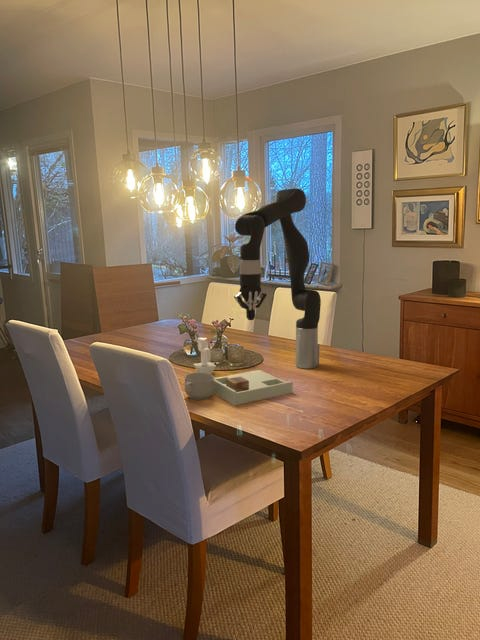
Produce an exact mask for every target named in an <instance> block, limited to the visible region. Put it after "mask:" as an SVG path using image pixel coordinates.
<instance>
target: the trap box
mask: <svg viewBox="0 0 480 640" xmlns="http://www.w3.org/2000/svg"><path fill="white" fill-rule="evenodd" d="M240 376H241V377H243V378H245V379H246V380H248V381H249V390H246V391H241V392H236V391H235V390H233V389H231V388H229V387H227V386H226V379H229V378H235V377H240ZM293 387H294V386H293V381H292V380H291V381H285V380H283V379H281V378H278V377H276V376H274V375H271V374H269V373H268V372H265V371H263V370H261V369H257V370H251V371H247V372H246V371H245V372H240V373H236V374H235V373H234V374H231V375H230V374H229V375H225V376H220V377H215V379H214V390H213V393H212V394H215V395H216V396H218V397H219V398H220V399H223V400H225V401H226V402H228V403H230V404H231V405H233V406H238V405H243V404H246V403H250V402H257V401H260V400H265V399H269V398H275V397H278V396H283V395H288V394H293V390H294V389H293Z"/></svg>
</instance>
